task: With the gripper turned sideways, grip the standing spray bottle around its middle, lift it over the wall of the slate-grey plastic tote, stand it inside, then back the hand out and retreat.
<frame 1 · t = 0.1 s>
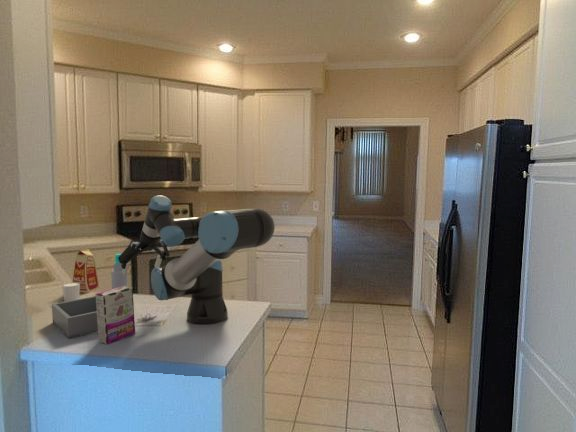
hand: (140, 270, 173), 15 cm above the countertop, tool tilted 35°, fingers open, 13 cm apart
spray bottle: (120, 308, 174), on the countertop
milk carton: (86, 289, 201), on the countertop
tote: (85, 324, 155), on the countertop
white cylinder: (71, 300, 184), on the countertop
candy bar box: (116, 338, 143), on the countertop
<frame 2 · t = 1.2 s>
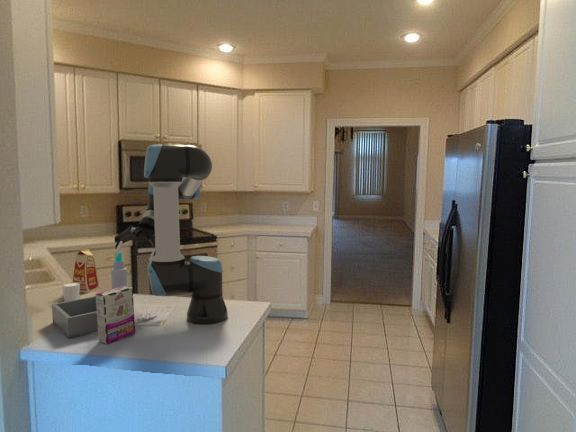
hand: (132, 258, 171), 21 cm above the countertop, tool tilted 55°, fingers open, 13 cm apart
spray bottle: (120, 307, 174), on the countertop, touching gripper
everything else where it was.
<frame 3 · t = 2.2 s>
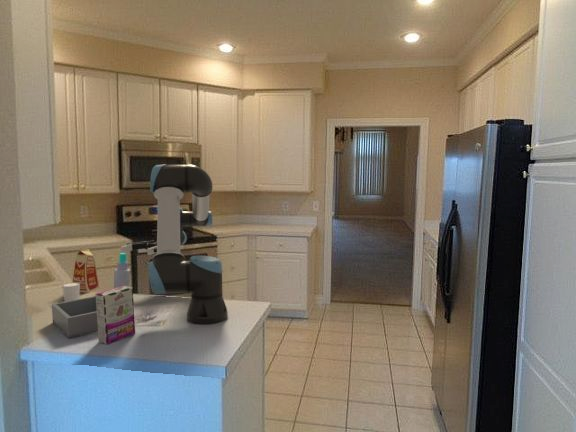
hand: (134, 250, 183), 21 cm above the countertop, tool horizontal, fingers open, 13 cm apart
spray bottle: (120, 307, 174), on the countertop
everything else where it was.
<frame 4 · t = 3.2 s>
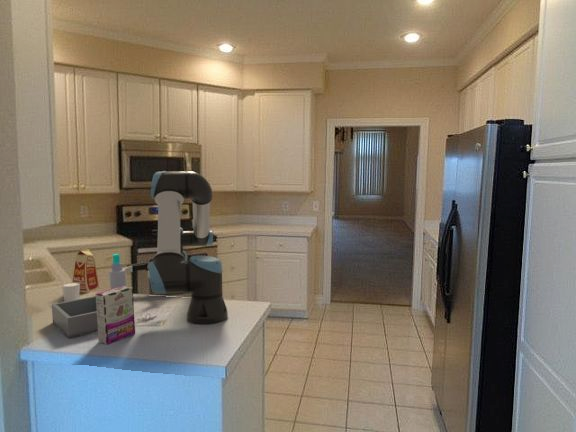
hand: (135, 273, 182), 12 cm above the countertop, tool horizontal, fingers open, 13 cm apart
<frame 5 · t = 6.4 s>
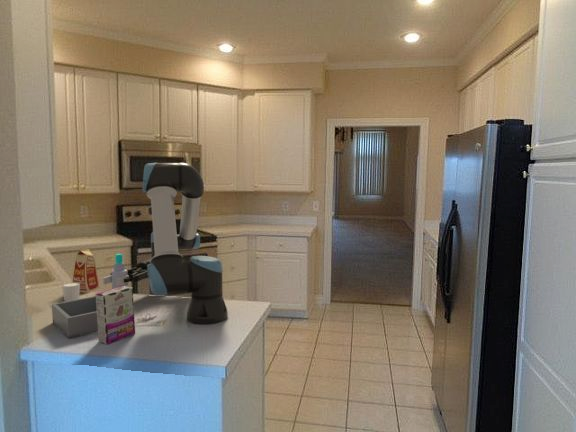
hand: (110, 281, 168), 12 cm above the countertop, tool horizontal, fingers closed on spray bottle, 6 cm apart
spray bottle: (120, 307, 174), on the countertop, touching gripper
everything else where it was.
when the fingers open (14 cm above the countertop, at t = 10.9 s): spray bottle drops 1 cm, resting on tote.
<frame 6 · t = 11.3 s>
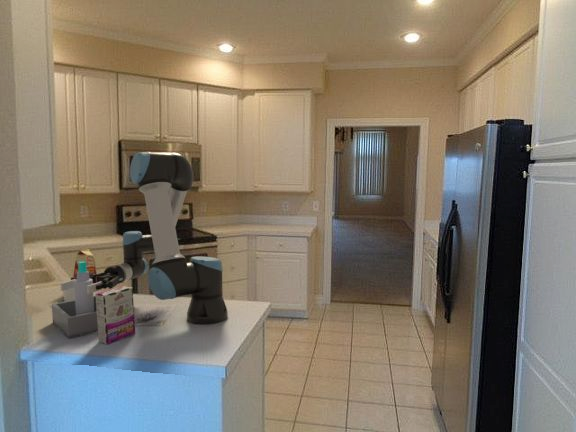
hand: (74, 288, 149), 14 cm above the countertop, tool horizontal, fingers open, 11 cm apart
spray bottle: (85, 322, 155), point 1 cm above the countertop, touching tote
everything else where it was.
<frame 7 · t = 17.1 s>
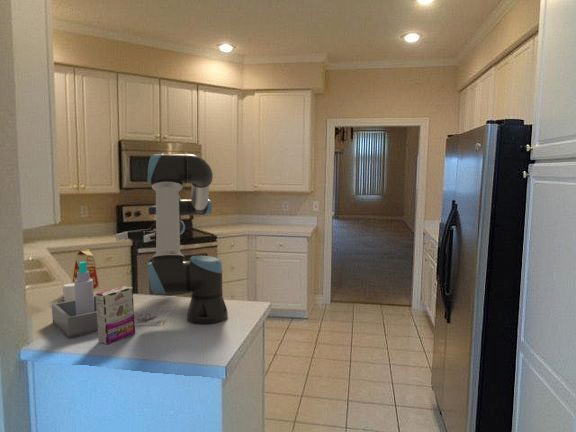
hand: (130, 238, 175), 28 cm above the countertop, tool horizontal, fingers open, 13 cm apart
nothing on the countertop moved.
at the end: spray bottle inside the target area on the tote (0.4 cm from its centre), point 0.8 cm above the tote's base; spray bottle tilted 0°; the gripper is holding nothing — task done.
